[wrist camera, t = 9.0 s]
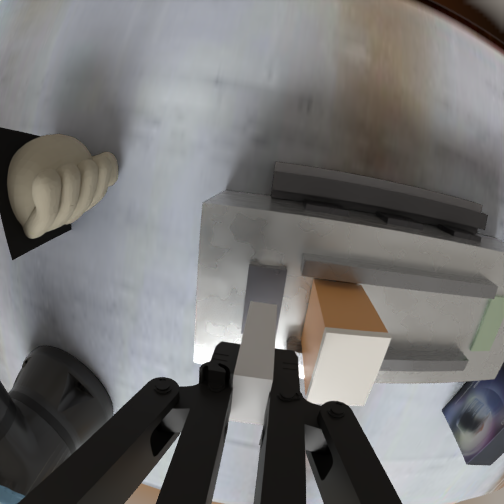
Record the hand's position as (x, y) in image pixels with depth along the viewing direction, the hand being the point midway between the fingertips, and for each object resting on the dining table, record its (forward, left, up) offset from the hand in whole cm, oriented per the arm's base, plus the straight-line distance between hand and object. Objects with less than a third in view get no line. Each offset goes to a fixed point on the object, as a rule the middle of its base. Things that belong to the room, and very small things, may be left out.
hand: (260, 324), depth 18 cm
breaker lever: (+4, 0, -3) cm, 5 cm away
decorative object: (-19, +6, -11) cm, 23 cm away
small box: (+30, -14, -11) cm, 35 cm away
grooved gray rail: (+9, +7, -11) cm, 16 cm away
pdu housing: (+9, 0, -11) cm, 15 cm away
